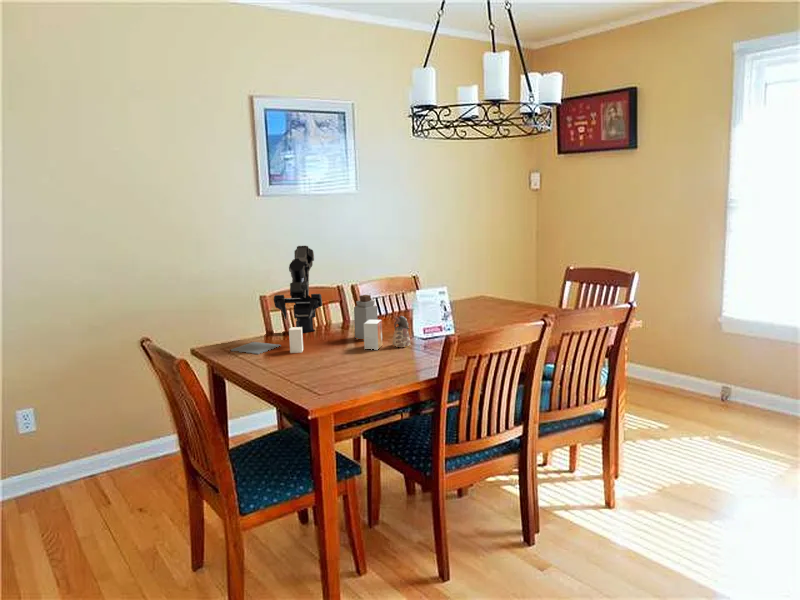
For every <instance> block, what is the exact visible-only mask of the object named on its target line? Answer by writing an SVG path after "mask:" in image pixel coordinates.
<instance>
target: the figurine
mask: <svg viewBox="0 0 800 600" xmlns="http://www.w3.org/2000/svg"><path fill="white" fill-rule="evenodd" d="M394 319H395V321H394V324H393V328H394V331H393V337H392V346H393V345H394V346H396V347H405V346H409V345H411V346H412V343H411V338H410V333H409V330H410V327H409V324H410V323H409V322H408V319H407V317H405V316H403V315H400V316H396V315H395V316H394ZM397 325H398V326H397ZM394 346H393V347H394ZM396 347H395V348H396Z"/></svg>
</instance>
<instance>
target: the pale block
mask: <svg viewBox="0 0 800 600" xmlns="http://www.w3.org/2000/svg"><path fill="white" fill-rule="evenodd" d="M303 334H304V333H302V327H296V326H294V327H289V328H288V336H289V340H288V341H289V353H290V354H299V353H300V354H301V353H303V351H304V337H303Z"/></svg>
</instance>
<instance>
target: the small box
mask: <svg viewBox="0 0 800 600" xmlns="http://www.w3.org/2000/svg"><path fill="white" fill-rule="evenodd" d="M363 343H364V344H363V345H364V350H365V349H371V350H370V351H379V350H380V349H381V348H382V347H383V346H382V345H384V344H383V319H378V320H368V321H367V322H365V323H364V340H363ZM381 346H382V347H381ZM380 347H381V348H380ZM379 348H380V349H379ZM372 349H374V350H372ZM378 349H379V350H378Z"/></svg>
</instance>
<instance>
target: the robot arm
mask: <svg viewBox="0 0 800 600" xmlns="http://www.w3.org/2000/svg"><path fill="white" fill-rule="evenodd" d="M314 253H315V252H314V250H313V249H312V248H310V247H309V245H298V246H296V248H295V250H294V259H292V260H291V262H290V263H289V266H288V270H289V273H290V277H291V280H292V281H291V282H290V283H289V296H290V297H285V294H275V295H274V296H273V302H274V307H275V309H278V310H280V311H281V312H282V314H283V317H284V320H287V308H286V305H287V304H293V317H294V319H296V321H295V327H302V334H305V333H310V332H316V329H314V320H313V319H314V318H316V317H317V316H316V310H317V309H319V308H320V307H323V299H322V294H321V293H311V294H310V293H309V291H310V289H309V288H310V286H309V285H310V270H311V268H312V267H313V262H314V261H315V254H314ZM309 294H310V295H309Z"/></svg>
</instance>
